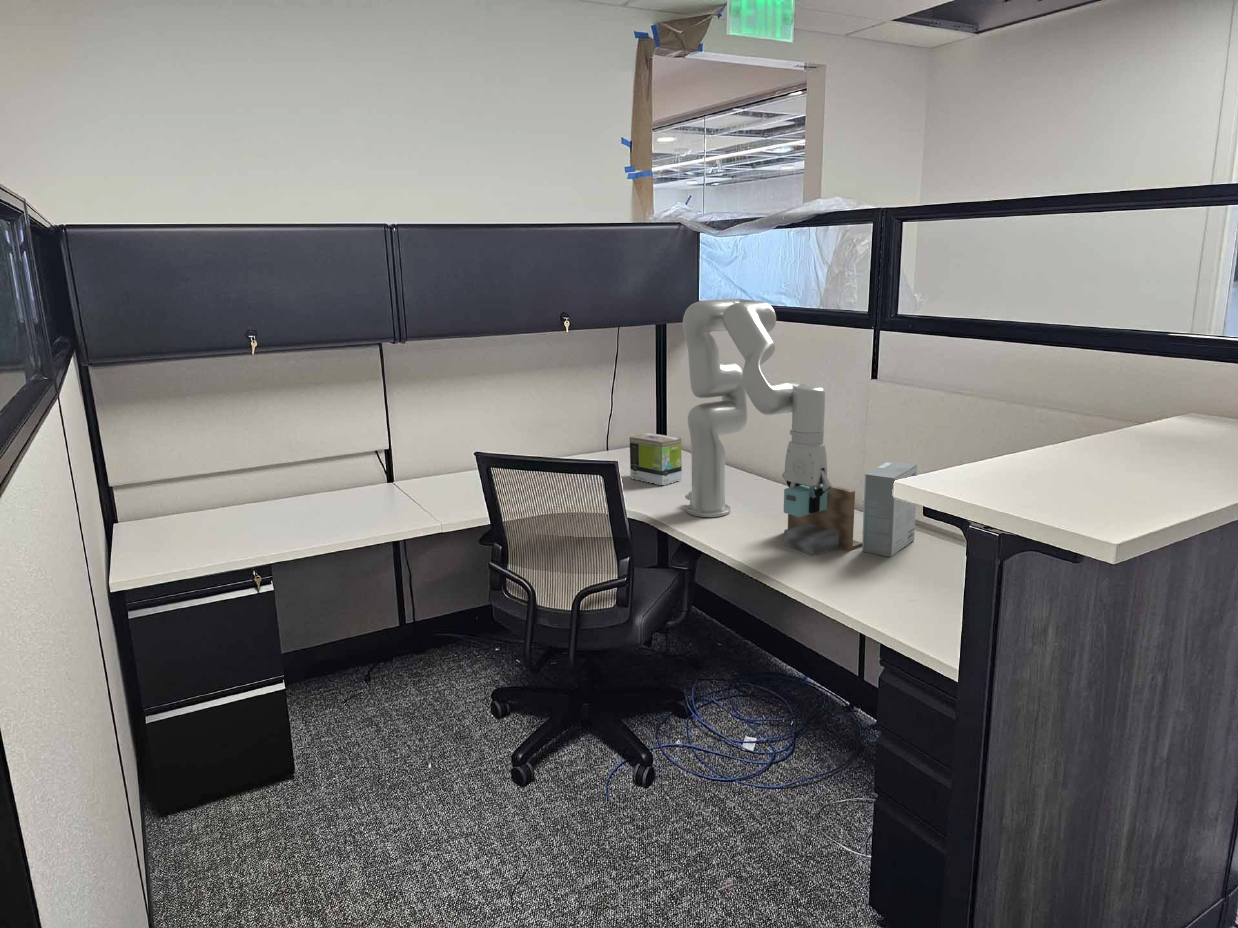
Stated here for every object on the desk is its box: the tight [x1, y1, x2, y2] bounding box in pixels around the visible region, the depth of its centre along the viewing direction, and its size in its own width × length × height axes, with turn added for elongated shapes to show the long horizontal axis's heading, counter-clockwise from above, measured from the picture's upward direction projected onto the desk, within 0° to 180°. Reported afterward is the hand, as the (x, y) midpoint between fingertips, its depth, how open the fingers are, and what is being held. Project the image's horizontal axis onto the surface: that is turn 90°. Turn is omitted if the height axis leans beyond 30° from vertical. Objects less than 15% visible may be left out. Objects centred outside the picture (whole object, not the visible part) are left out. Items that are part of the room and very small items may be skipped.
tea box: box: [629, 432, 683, 486], centre depth 272 cm, size 15×10×15 cm
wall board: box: [783, 484, 862, 557], centre depth 207 cm, size 20×14×15 cm
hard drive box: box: [861, 460, 918, 558], centre depth 203 cm, size 16×8×20 cm, turn 141°
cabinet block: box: [783, 484, 828, 517], centre depth 202 cm, size 5×11×6 cm, turn 126°
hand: (805, 508), depth 202 cm, fingers closed on cabinet block, 5 cm apart
